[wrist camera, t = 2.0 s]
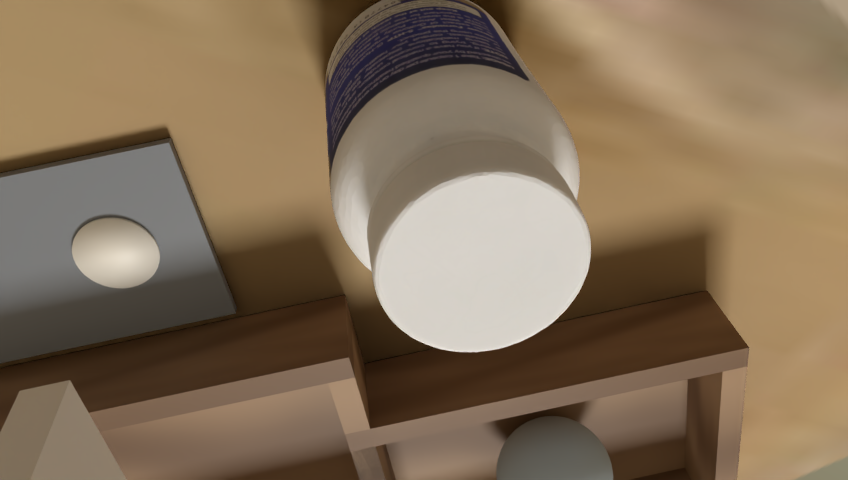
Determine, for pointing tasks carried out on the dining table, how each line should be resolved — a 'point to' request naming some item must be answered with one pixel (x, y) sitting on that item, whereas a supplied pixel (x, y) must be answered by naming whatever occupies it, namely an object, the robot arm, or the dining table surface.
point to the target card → (103, 251)
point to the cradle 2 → (570, 396)
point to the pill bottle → (453, 176)
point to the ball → (553, 452)
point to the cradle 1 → (224, 397)
